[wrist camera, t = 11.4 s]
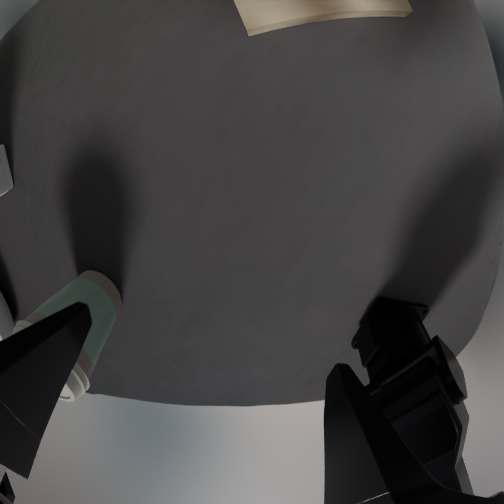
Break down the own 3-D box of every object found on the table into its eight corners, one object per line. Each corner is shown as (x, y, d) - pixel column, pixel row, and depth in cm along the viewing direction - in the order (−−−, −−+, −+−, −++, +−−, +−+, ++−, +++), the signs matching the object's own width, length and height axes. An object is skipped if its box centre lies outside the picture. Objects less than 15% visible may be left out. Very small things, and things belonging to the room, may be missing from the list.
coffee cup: (87, 242, 23) (6, 320, 12) (147, 302, 25) (93, 399, 15) (62, 284, 26) (2, 351, 15) (112, 332, 29) (67, 410, 18)
